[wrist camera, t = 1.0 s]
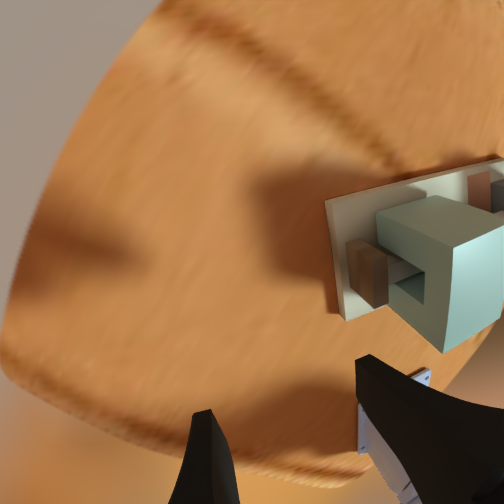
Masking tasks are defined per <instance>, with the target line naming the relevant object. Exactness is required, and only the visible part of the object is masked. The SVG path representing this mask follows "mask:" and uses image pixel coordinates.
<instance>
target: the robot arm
mask: <svg viewBox="0 0 504 504" xmlns="http://www.w3.org/2000/svg"><path fill="white" fill-rule="evenodd" d="M355 372H356V397H357V399H358V400H359V402H360V403H359V404H358V448H357V452H358V454H359V455H362V454H364V453H367V452H368V454H369V455H370V457H371V459H372V460H373V462H374V463H375V465H376V467H377V468H378V470H379V471H380V473H381V475H382V476H383V478H384V480H385V481H386V483H387V485H388V486H389V487H390V489H391V490H392V491H393V492H395V493H396V494H398V496H397V497H398V499H399V500H400V502H401V503H400V504H504V409H500V408H494V407H489V406H484V405H479V404H475V403H471V402H467V401H464V400H461V399H458V398H455V397H452V396H449V395H447V394H444V393H442V392H439V391H437V390H435V389H433V388H430V387H429V381H430V376H431V370H430V369H429V368H427V369H425V370H423V371H421V372H419V373H418V374H416V375H414V376H412V377H408V376H407V375H405V374H403V373H401V372H399V371H398V370H396V369H394V368H393V367H391V366H389V365H388V364H386V363H384V362H383V361H381V360H379V359H378V358H376V357H374V356H373V355H371V354H368V355H366V356H364V357H361V358H359V359H357V360H355ZM168 504H240V501H239V495H238V489H237V483H236V476H235V470H234V464H233V461H232V457H231V453H230V450H229V446H228V442H227V440H226V438H225V436H224V434H223V432H222V430H221V428H220V426H219V424H218V422H217V420H216V418H215V417H214V415H213V413H212V411H211V409H209V410H205V411H201V412H197V413H194V414H193V415H192V421H191V428H190V433H189V438H188V443H187V447H186V451H185V455H184V459H183V463H182V466H181V469H180V473H179V476H178V479H177V482H176V485H175V487H174V490H173V493H172V495H171V498H170V500H169V502H168Z"/></svg>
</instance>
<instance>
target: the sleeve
mask: <svg viewBox="0 0 504 504" xmlns="http://www.w3.org/2000/svg"><path fill="white" fill-rule="evenodd" d="M375 213H376V223H377V234H378V244H379V245H381V246H383V247H384V248H386V249H388V250H389V251H391V252H393V253H394V254H396V255H398V256H399V257H401V258H403V259H404V260H406V261H408V262H409V263H411V264H413V265H414V266H416V267H417V268H419V269H421V270H422V272H419V273H417V274H415V275H412V276H410V277H408V278H405V279H403V280H400V281H398V282H395V283H393V284H390V285H389V303H388V304H386V305H388V306H389V307H390V308H391V309H392V310H393V311H395V312H396V313H397V314H398V315H399V316H400V317H401V318H403V319H404V320H405V321H406V322H407V323H408V324H409V325H411V326H412V327H413V328H414V329H415V330H416V331H417V332H418V333H420V334H421V335H422V336H423V337H424V338H425V339H426V340H427V341H429V342H430V343H431V344H432V345H433V346H434V347H435V348H436V349H437V350H439V351H440V352H441V353H442V354H444V353H446V352H447V351H449V350H451V349H452V348H454V347H456V346H457V345H459V344H461V343H462V342H464V341H465V340H467V339H469V338H470V337H472V336H473V335H475V334H476V333H478V332H479V331H481V330H482V329H484V328H485V327H487V326H488V325H490V324H491V323H493V322H494V321H496V320H497V319H498V318H500V315H501V310H502V305H503V300H504V217H501V216H498V215H496V214H493V213H490V212H487V211H484V210H481V209H479V208H476V207H473V206H470V205H467V204H464V203H461V202H458V201H455V200H451V199H448V198H445V197H442V196H439V195H433V196H430V197H426V198H423V199H419V200H416V201H413V202H409V203H406V204H402V205H399V206H395V207H392V208H388V209H385V210H382V211H378V212H375Z"/></svg>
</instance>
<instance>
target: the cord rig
mask: <svg viewBox="0 0 504 504" xmlns="http://www.w3.org/2000/svg"><path fill="white" fill-rule="evenodd" d="M433 195H439V196H442V197H445V198H448V199H451V200H455V201H458V202H461V203H464V204H467V205H470V206H473V207H476V208H479V209H481V210H484V211H487V212H490V213H493V214H496V215H498V216H501V217H504V158H499V159H494V160H489V161H485V162H480V163H476V164H471V165H467V166H462V167H458V168H454V169H449V170H445V171H441V172H437V173H432V174H428V175H424V176H420V177H416V178H412V179H407V180H403V181H399V182H395V183H391V184H387V185H383V186H379V187H375V188H371V189H367V190H363V191H359V192H356V193H352V194H348V195H344V196H340V197H336V198H332V199H329V200H325V201H324V202H325V208H326V214H327V221H328V227H329V234H330V241H331V248H332V255H333V263H334V270H335V278H336V287H337V295H338V304H339V314H340V316H341V317H342V318H343V319H344V320H345V321H346V322H347V321H349V320H352V319H354V318H357V317H359V316H362V315H364V314H367V313H369V312H372V311H374V310H377V309H379V308H381V307H384V306H386V304H388V303H389V285H390V284H393V283H395V282H398V281H400V280H403V279H405V278H408V277H410V276H412V275H415V274H417V273H419V272H422V270H421V269H419V268H417V267H416V266H414V265H413V264H411V263H409V262H408V261H406V260H404V259H403V258H401V257H399V256H398V255H396V254H394V253H393V252H391V251H389V250H388V249H386V248H384V247H383V246H381V245H379V244H378V234H377V223H376V213H375V212H378V211H382V210H385V209H388V208H392V207H395V206H399V205H402V204H406V203H409V202H413V201H416V200H419V199H423V198H426V197H430V196H433Z"/></svg>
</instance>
